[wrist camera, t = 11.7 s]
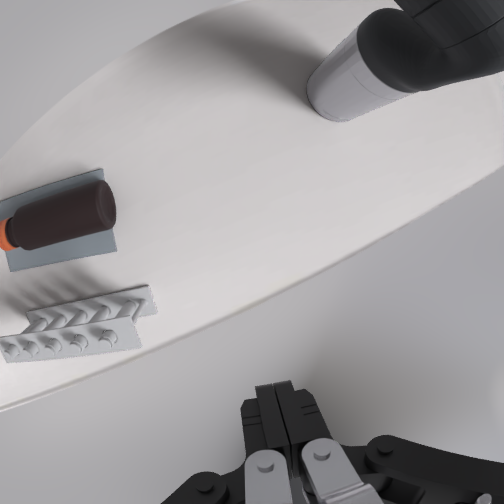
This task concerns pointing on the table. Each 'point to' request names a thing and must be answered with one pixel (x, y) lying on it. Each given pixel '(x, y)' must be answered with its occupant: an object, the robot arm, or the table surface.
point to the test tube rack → (81, 327)
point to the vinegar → (60, 217)
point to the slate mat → (61, 250)
